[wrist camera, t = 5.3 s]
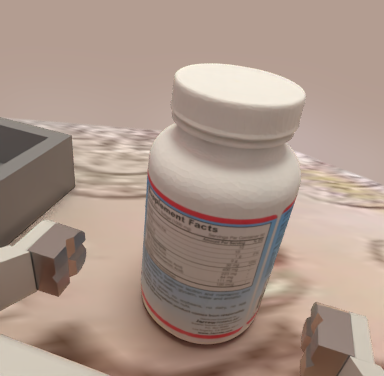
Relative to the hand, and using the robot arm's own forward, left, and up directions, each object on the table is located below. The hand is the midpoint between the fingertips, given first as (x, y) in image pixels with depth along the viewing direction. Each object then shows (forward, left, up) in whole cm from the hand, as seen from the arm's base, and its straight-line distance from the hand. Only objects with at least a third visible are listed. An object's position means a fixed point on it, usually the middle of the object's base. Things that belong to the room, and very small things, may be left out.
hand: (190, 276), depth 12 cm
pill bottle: (0, -4, -6) cm, 7 cm away
